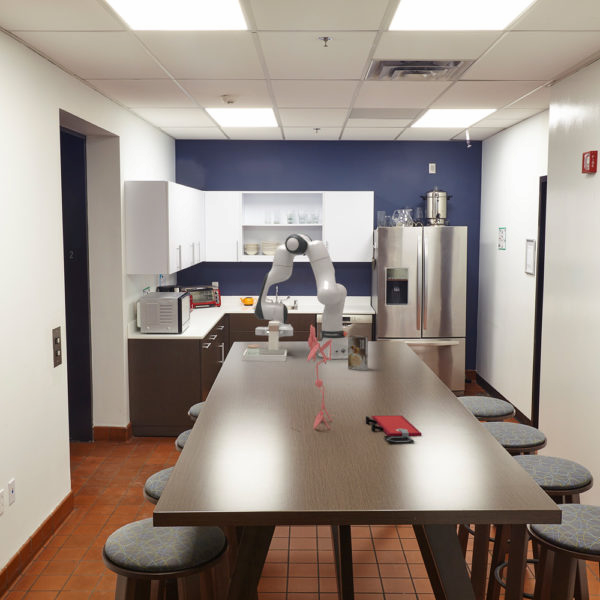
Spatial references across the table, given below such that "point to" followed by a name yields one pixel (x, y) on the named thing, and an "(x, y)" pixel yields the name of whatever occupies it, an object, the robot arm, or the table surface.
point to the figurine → (314, 347)
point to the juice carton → (273, 335)
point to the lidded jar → (253, 349)
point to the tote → (266, 355)
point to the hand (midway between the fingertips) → (273, 333)
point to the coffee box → (358, 352)
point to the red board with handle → (394, 428)
